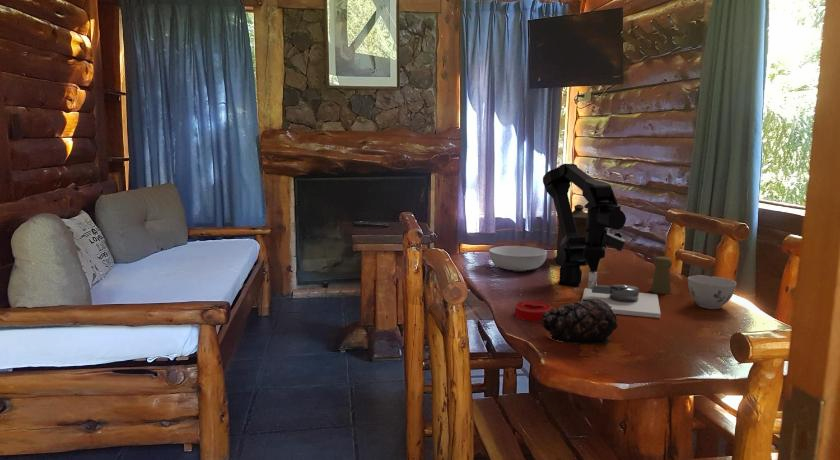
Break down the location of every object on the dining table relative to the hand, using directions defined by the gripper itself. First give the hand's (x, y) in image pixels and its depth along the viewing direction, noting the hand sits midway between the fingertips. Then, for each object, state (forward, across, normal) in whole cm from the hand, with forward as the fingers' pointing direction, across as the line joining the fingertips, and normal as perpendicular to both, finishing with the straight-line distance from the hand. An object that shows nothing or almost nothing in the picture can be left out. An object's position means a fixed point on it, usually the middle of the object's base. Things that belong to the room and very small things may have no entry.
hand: (593, 275), depth 185 cm
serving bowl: (+6, +27, +28) cm, 39 cm away
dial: (+5, -7, -6) cm, 10 cm away
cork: (+6, +11, -20) cm, 24 cm away
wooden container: (+6, +49, +9) cm, 50 cm away
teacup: (+6, -1, -32) cm, 33 cm away
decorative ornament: (+6, -29, +14) cm, 33 cm away
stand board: (+6, -8, -8) cm, 13 cm away
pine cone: (+6, -44, +1) cm, 45 cm away
